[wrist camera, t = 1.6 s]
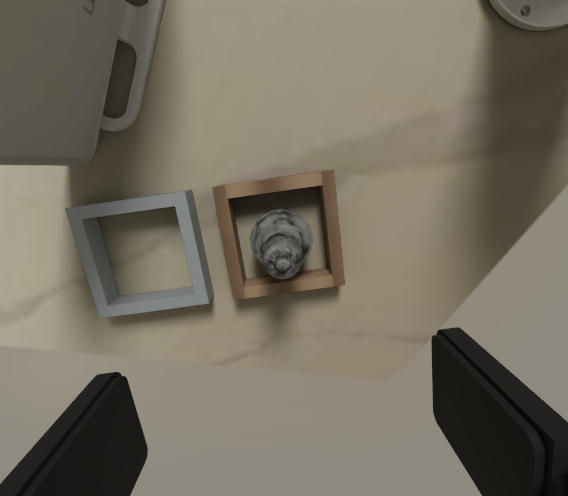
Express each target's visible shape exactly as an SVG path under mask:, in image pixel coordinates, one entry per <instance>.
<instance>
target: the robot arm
mask: <svg viewBox="0 0 568 496" xmlns="http://www.w3.org/2000/svg"><path fill="white" fill-rule="evenodd" d="M489 1H490V3H491V5H492V6H493V8H494V9H495V10H496V11H497V13H498V14H499V15H500V16H501V17H503V18H504V19H505V20H506V21H508V22H509V23H510V24H513V25H515V26H517V27H519V28H522V29H527V30H532V31H545V30H551V29H555V28H559V27H562V26H564V25H566V24H568V0H489ZM432 379H433V381H432V382H433V413H434V417H435V419H436V422H437V424H438V426H439V427H440V428H441V430H442V432H443V433H444V435H445V437H446V438H447V440H448V442H449V443H450V445H451V446H452V448H453V449H454V451H455V453H456V454H457V456H458V458H459V459H460V461H461V462H462V464H463V466H464V467H465V469H466V470H467V472H468V474H469V475H470V477H471V478H472V480H473V482H474V483H475V485H476V486H477V488H478V490H479V491H480V493H481V494H482V496H568V422H567V421H566V420H564V419H563V418H562V417H561V416H560V415H559V414H558V413H557V412H555V411H554V410H553V409H552V408H551V407H550V406H548V405H547V404H546V403H545V402H544V401H543V400H542V399H541V398H539V397H538V396H537V395H536V394H535V393H534V392H533V391H531V390H530V389H529V388H528V387H527V386H526V385H525V384H523V383H522V382H521V381H520V380H519V379H518V378H517V377H515V376H514V375H513V374H512V373H511V372H509V370H507V369H506V368H505V367H504V366H503V365H502V364H500V363H499V362H498V361H497V360H496V359H495V358H494V357H493V356H491V355H490V354H489V353H488V352H487V351H486V350H485V349H483V348H482V347H481V346H480V345H479V344H478V343H476V342H475V341H474V340H473V339H472V338H471V337H470V336H469V335H467V334H466V333H465V332H464V331H463V330H462V329H460V328H449V329H441V330H438V331H437V335H434V336H432ZM147 451H148V449H147V444H146V441H145V437H144V434H143V431H142V427H141V424H140V421H139V417H138V414H137V411H136V407H135V404H134V400H133V397H132V394H131V391H130V387H129V384H128V380H127V378H126V377H125V376H122V375H121V374H120V373H119V372H114V373H105V374H99V375H97V376H95V377H94V378H93V380H92V381H91V382H90V383H89V384H88V385H87V386H86V388H85V389H84V390H83V391H82V392H81V393H80V394H79V395H78V397H77V398H76V399H75V400H74V401H73V402H72V403H71V404H70V406H69V407H68V408H67V409H66V410H65V411H64V412H63V414H62V415H61V416H60V417H59V418H58V419H57V420H56V421H55V423H54V424H53V425H52V426H51V427H50V428H49V430H48V431H47V432H46V433H45V434H44V435H43V437H41V439H40V440H39V441H38V442H37V443H36V444H35V445H34V446H33V448H32V449H31V450H30V451H29V452H28V453H27V454H26V456H25V457H24V458H23V459H22V460H21V461H20V462H19V463H18V465H17V466H16V467H15V468H14V469H13V470H12V471H11V473H10V474H9V475H8V476H7V477H6V478H5V479H4V481H3V482H2V483H1V484H0V496H130V495H131V492H132V490H133V488H134V486H135V484H136V481H137V479H138V477H139V475H140V472H141V470H142V468H143V466H144V464H145V461H146V459H147Z"/></svg>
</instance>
